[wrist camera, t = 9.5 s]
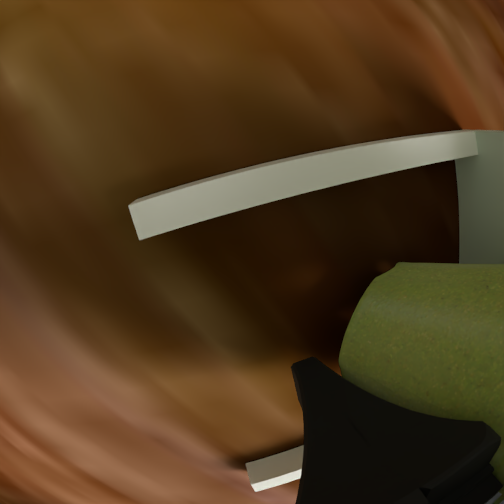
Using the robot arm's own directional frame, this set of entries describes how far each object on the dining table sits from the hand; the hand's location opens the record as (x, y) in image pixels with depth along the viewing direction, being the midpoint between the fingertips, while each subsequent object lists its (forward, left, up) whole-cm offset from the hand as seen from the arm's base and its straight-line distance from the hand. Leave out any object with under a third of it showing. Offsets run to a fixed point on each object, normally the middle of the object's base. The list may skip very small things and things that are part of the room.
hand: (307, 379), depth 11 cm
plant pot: (0, -4, -1) cm, 4 cm away
